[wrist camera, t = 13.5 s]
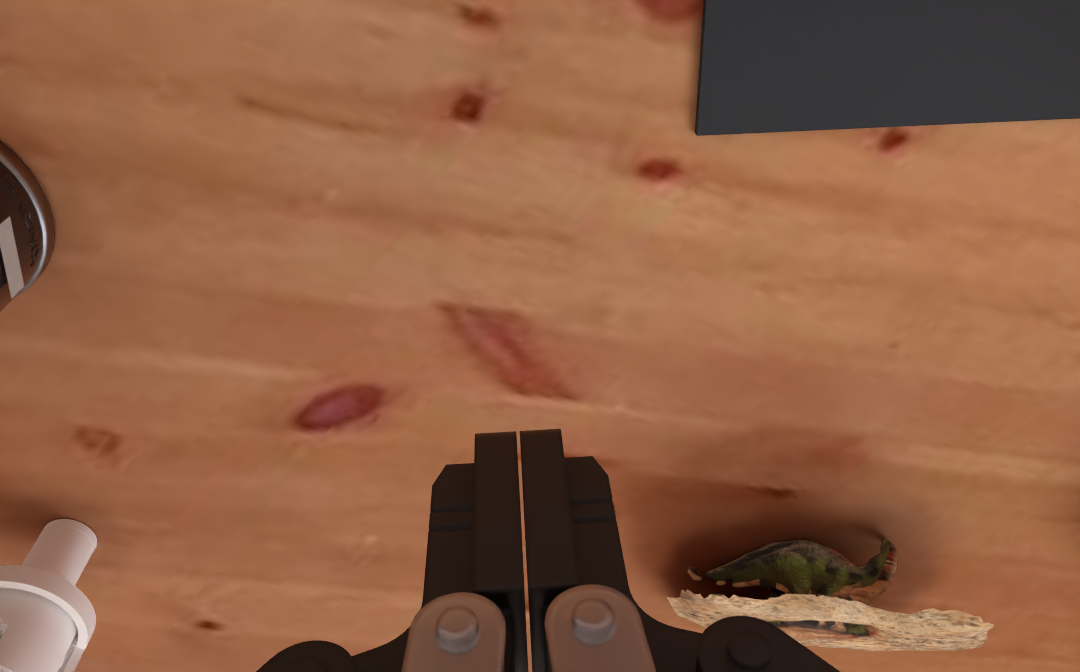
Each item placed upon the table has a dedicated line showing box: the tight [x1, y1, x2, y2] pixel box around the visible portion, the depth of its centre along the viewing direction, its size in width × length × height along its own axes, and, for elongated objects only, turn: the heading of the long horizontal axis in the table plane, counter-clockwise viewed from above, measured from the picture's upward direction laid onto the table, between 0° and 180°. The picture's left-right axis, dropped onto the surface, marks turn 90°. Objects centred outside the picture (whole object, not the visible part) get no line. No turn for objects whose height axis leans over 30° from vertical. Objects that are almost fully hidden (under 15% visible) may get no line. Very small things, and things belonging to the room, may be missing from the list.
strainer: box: [0, 519, 97, 672], centre depth 44 cm, size 7×7×15 cm
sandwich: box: [667, 540, 994, 651], centre depth 53 cm, size 18×14×8 cm
